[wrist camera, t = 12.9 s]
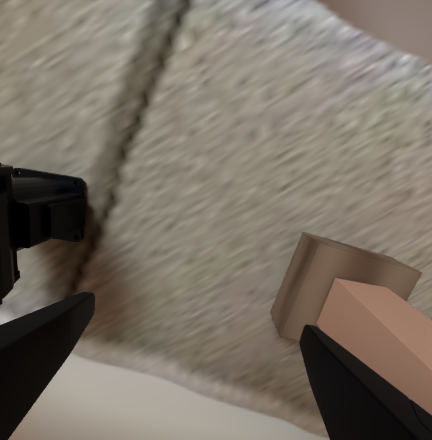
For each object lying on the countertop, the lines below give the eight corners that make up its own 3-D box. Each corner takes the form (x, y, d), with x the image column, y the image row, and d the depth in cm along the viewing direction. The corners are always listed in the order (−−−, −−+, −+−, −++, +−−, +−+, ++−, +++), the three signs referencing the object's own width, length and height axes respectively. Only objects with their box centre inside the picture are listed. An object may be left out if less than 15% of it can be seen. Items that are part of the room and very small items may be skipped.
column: (316, 323, 20) (495, 604, 7) (335, 278, 18) (594, 527, 6) (364, 331, 20) (616, 612, 8) (386, 287, 19) (735, 541, 6)
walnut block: (269, 309, 24) (279, 336, 20) (301, 230, 22) (319, 243, 18) (348, 329, 25) (372, 359, 21) (386, 255, 22) (422, 272, 19)
